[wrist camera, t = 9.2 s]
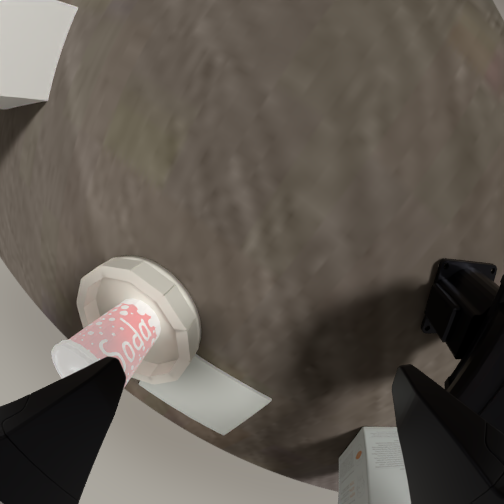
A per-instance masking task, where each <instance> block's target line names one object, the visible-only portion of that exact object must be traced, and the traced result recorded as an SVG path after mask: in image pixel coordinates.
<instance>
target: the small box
mask: <svg viewBox="0 0 504 504" xmlns="http://www.w3.org/2000/svg"><path fill="white" fill-rule="evenodd" d="M338 497H339V498H338V504H411V499H410V493H409V487H408V481H407V475H406V470H405V465H404V460H403V455H402V450H401V446H400V441H399V437H398V432H397V427H362V429H361V430H360V431H359V433H358V434H357V435H356V437H355V438H354V439H353V441H352V442H351V443H350V445H349V446H348V447H347V448H346V450H345V451H344V452H343V454H342V455H341V456H340V457H339V496H338Z"/></svg>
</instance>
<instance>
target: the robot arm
mask: <svg viewBox="0 0 504 504" xmlns="http://www.w3.org/2000/svg"><path fill="white" fill-rule="evenodd" d="M446 263H447V265H446V267H444V264H446ZM491 270H492V271H491ZM496 271H497V267H496V266H495V265H494V264H490V263H482V262H473V261H464V260H456V259H447V258H445V259H442V260H441V261H440V263H439V267H438V271H437V275H436V279H435V283H434V285H433V286H432V289H431V293H430V296H429V300H428V303H427V306H426V310H425V316H424V319H423V322H422V325H421V330H422V331H423V332H424V333H437V334H438V336H439V337H440V339H441V340H442V342H446V344H447V346H448V347H449V349H450V350H451V352H452V354H453V356H454V357H455V359H461V361H460V362H459V364H458V366H457V367H456V369H455V370H454V372H453V373H452V374H451V376H449V377H448V378H447V380H446V381H445V389H444V388H442V387H441V386H440V385H438V384H437V383H436V382H434V381H433V380H432V379H430V378H429V377H428V376H426V375H425V374H424V373H422V372H421V371H420V370H419V369H417V368H416V367H415V366H413V365H411V364H408V365H402V366H399V367H398V369H397V372H396V375H395V378H394V381H393V384H392V395H393V402H394V409H395V417H396V425H397V432H398V437H399V441H400V446H401V450H402V455H403V460H404V465H405V470H406V475H407V481H408V487H409V493H410V499H411V504H504V274H503V276H502V279H501V281H500V282H501V285H500V287H499V286H498V285H497V284H496V283H494V278H495V275H496ZM426 326H428V327H427V328H426ZM125 382H126V374H125V372H124V370H123V367H122V365H121V363H120V361H119V359H118V358H115V357H110V356H107V357H105V358H103V359H101V360H99V361H97V362H95V363H93V364H91V365H89V366H87V367H85V368H83V369H81V370H79V371H77V372H75V373H73V374H71V375H69V376H67V377H65V378H62V379H61V380H58V381H56V382H54V383H52V384H50V385H48V386H46V387H44V388H42V389H40V390H38V391H36V392H33V393H31V394H30V395H27V396H25V397H23V398H20V399H18V400H16V401H14V402H11V403H9V404H6V405H3V406H0V504H78V503H79V500H80V497H81V495H82V492H83V489H84V487H85V484H86V482H87V479H88V476H89V474H90V471H91V469H92V466H93V464H94V461H95V459H96V457H97V454H98V452H99V449H100V447H101V445H102V443H103V440H104V438H105V436H106V433H107V431H108V429H109V426H110V424H111V422H112V420H113V417H114V415H115V412H116V409H117V406H118V403H119V400H120V397H121V394H122V391H123V388H124V385H125Z"/></svg>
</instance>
